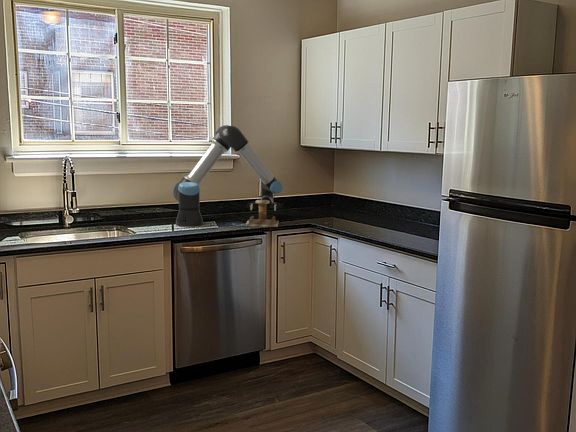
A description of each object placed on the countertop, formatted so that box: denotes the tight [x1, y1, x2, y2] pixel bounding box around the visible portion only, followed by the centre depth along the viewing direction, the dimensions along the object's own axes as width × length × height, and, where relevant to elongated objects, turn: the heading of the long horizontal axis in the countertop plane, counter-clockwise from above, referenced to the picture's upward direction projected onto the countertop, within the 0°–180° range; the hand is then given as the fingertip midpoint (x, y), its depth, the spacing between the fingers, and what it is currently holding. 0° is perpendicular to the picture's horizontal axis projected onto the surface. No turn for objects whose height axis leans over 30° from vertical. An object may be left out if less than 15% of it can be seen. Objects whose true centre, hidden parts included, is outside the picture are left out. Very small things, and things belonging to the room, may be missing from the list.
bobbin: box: [255, 199, 270, 220], centre depth 339 cm, size 8×8×12 cm
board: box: [245, 215, 280, 228], centre depth 340 cm, size 18×14×4 cm
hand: (262, 207), depth 338 cm, fingers open, 13 cm apart
